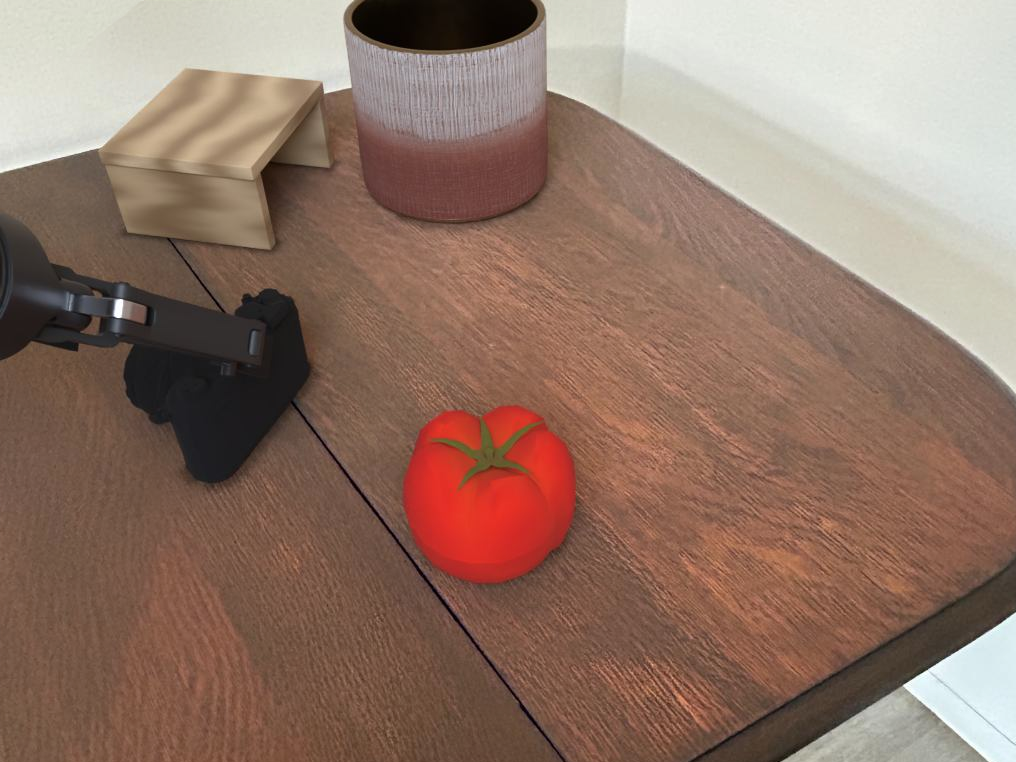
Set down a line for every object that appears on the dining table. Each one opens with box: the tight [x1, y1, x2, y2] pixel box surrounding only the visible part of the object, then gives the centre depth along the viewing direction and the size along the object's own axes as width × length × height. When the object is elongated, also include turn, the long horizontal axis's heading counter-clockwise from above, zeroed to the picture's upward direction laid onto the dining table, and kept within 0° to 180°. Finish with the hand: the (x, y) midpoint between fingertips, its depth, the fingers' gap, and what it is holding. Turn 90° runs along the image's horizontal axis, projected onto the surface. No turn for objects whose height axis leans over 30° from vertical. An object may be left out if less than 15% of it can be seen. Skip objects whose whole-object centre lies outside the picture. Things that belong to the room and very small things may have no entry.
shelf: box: [97, 67, 335, 251], centre depth 95 cm, size 14×17×8 cm
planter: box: [342, 0, 549, 223], centre depth 94 cm, size 18×18×16 cm
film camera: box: [122, 287, 311, 484], centre depth 73 cm, size 15×10×9 cm, turn 161°
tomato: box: [402, 404, 577, 584], centre depth 64 cm, size 11×12×9 cm
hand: (169, 344), depth 67 cm, fingers open, 13 cm apart
